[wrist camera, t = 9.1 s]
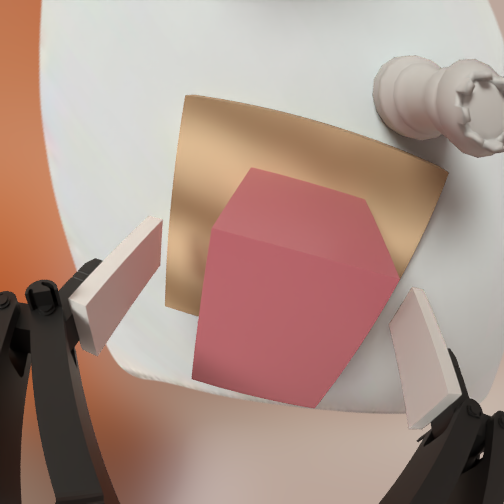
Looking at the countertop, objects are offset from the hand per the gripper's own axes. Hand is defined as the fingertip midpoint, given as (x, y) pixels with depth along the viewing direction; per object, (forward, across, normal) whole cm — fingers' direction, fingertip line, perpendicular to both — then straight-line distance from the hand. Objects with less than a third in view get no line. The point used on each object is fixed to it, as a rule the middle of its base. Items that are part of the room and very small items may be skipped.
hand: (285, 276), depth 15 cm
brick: (+3, 0, 0) cm, 3 cm away
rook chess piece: (+4, +4, +10) cm, 11 cm away
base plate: (+4, 0, 0) cm, 4 cm away
